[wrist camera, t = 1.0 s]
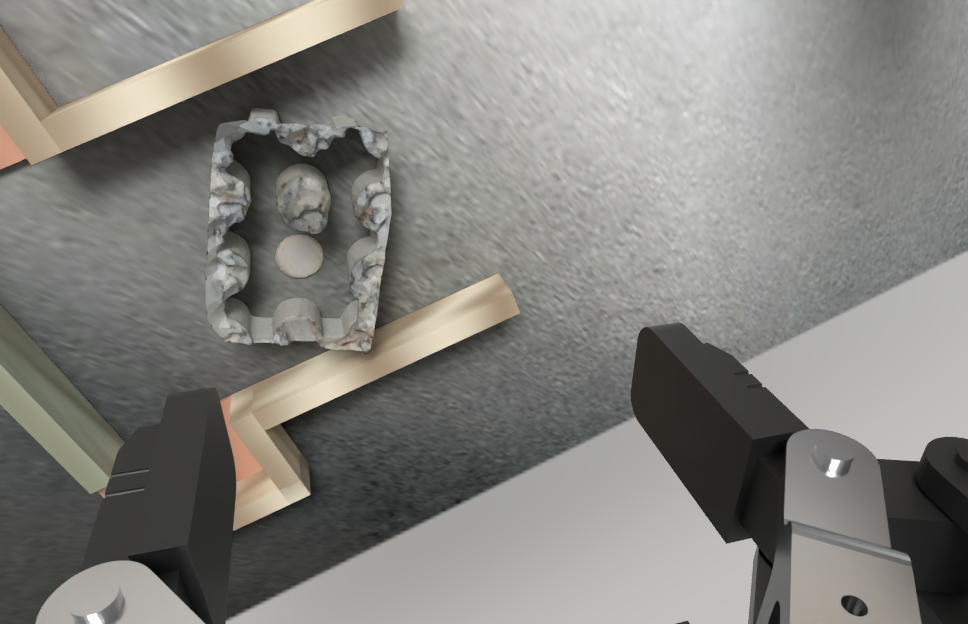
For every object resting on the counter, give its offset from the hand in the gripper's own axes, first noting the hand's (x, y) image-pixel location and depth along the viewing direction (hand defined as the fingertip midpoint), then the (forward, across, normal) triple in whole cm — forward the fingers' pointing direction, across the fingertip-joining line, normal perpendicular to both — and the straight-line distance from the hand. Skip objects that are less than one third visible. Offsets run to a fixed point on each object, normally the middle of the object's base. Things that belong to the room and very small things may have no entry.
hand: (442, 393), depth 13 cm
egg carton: (+21, +3, +4) cm, 21 cm away
